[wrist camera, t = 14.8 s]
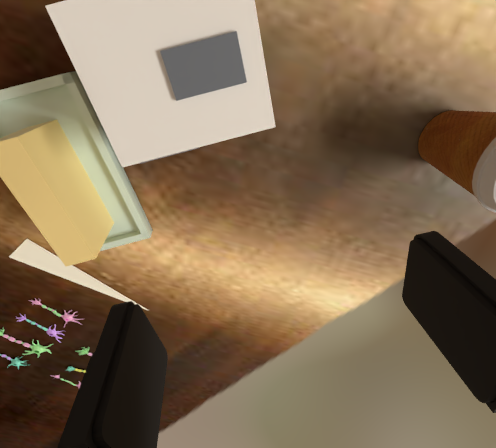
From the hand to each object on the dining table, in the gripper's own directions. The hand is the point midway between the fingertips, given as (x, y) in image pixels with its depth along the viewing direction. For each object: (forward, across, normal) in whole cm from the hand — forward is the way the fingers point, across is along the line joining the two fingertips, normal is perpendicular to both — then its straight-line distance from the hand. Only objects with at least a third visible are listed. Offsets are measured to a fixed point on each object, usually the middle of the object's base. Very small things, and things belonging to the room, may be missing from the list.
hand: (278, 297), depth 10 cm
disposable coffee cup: (+26, -25, +7) cm, 37 cm away
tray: (+24, +18, +1) cm, 30 cm away
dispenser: (+25, +3, -6) cm, 26 cm away
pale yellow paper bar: (+24, +18, +2) cm, 29 cm away
